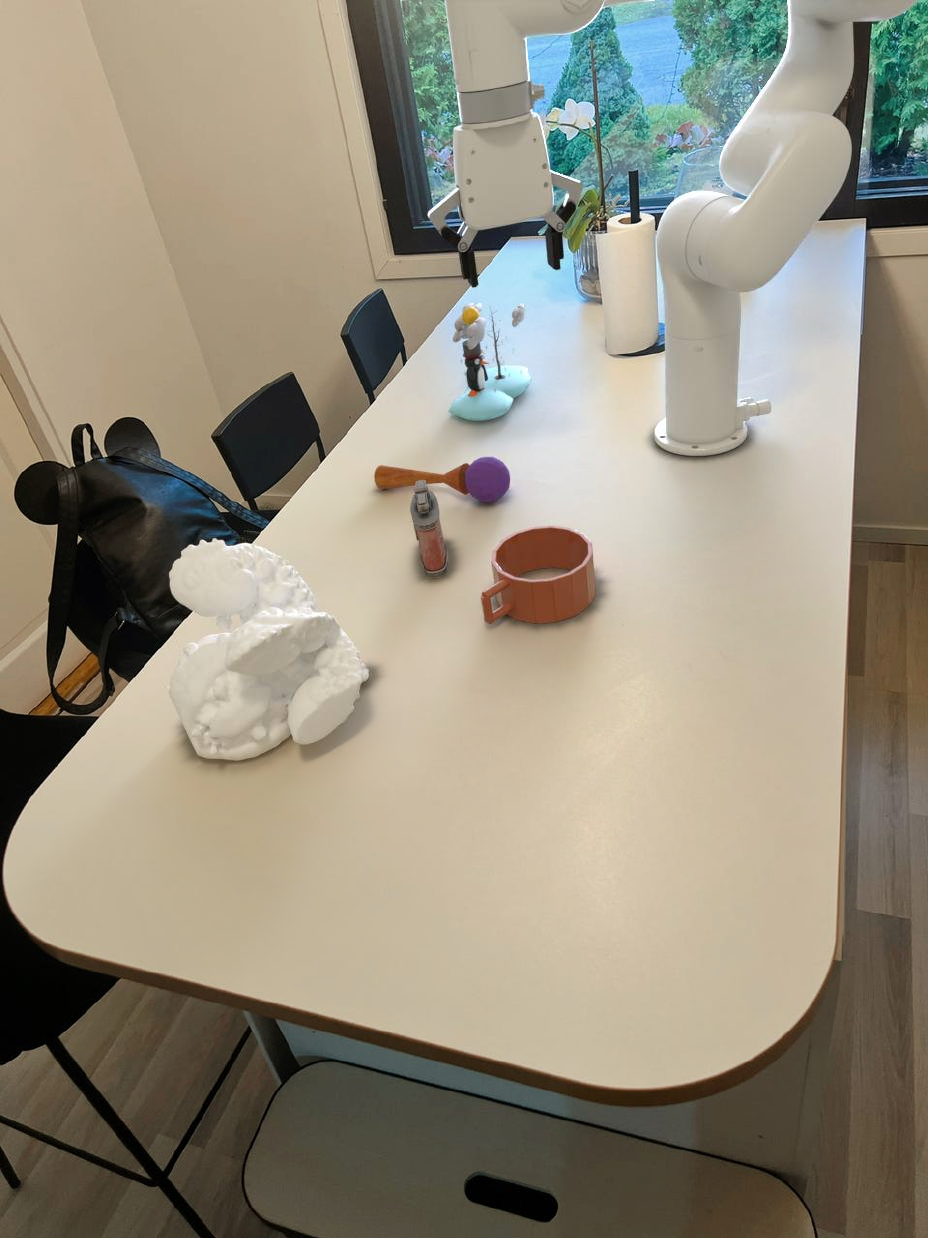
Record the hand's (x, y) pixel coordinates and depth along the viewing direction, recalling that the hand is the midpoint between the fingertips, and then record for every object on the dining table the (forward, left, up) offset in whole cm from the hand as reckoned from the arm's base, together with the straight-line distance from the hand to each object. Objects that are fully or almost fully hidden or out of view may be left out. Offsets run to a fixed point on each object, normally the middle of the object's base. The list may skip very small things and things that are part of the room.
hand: (513, 275), depth 100 cm
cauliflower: (+35, +33, -28) cm, 56 cm away
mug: (+7, +24, -28) cm, 38 cm away
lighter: (+16, +11, -28) cm, 34 cm away
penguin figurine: (-1, -33, -28) cm, 44 cm away
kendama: (+12, -5, -28) cm, 31 cm away
